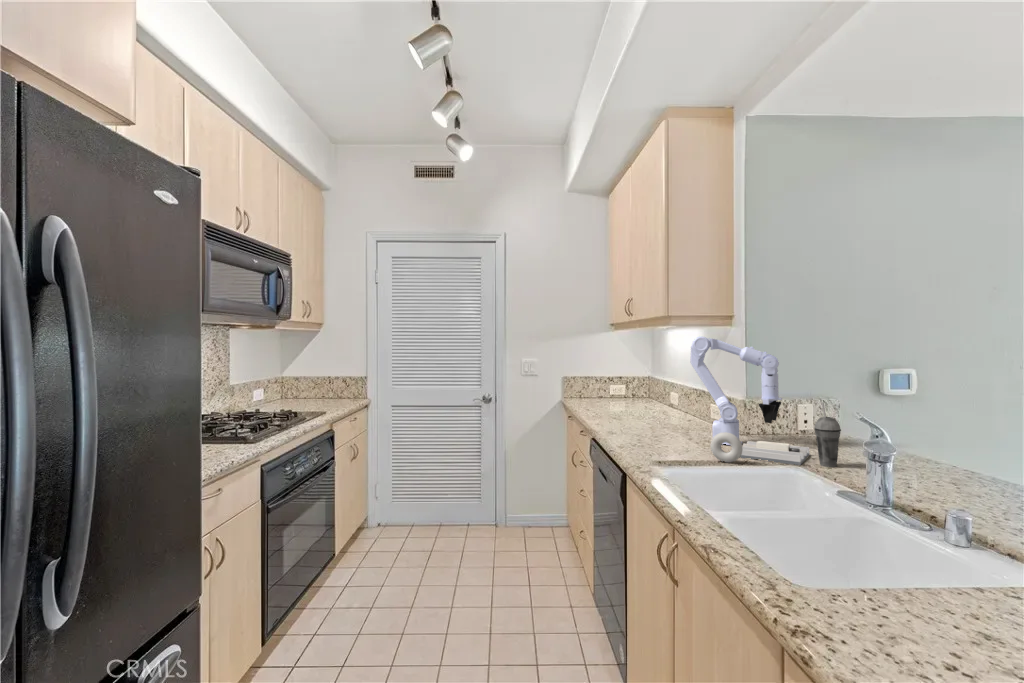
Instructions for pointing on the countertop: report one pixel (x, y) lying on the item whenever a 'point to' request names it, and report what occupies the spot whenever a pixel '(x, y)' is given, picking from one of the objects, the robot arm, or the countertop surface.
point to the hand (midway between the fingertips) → (770, 421)
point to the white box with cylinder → (776, 446)
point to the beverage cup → (827, 440)
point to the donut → (730, 439)
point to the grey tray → (775, 454)
